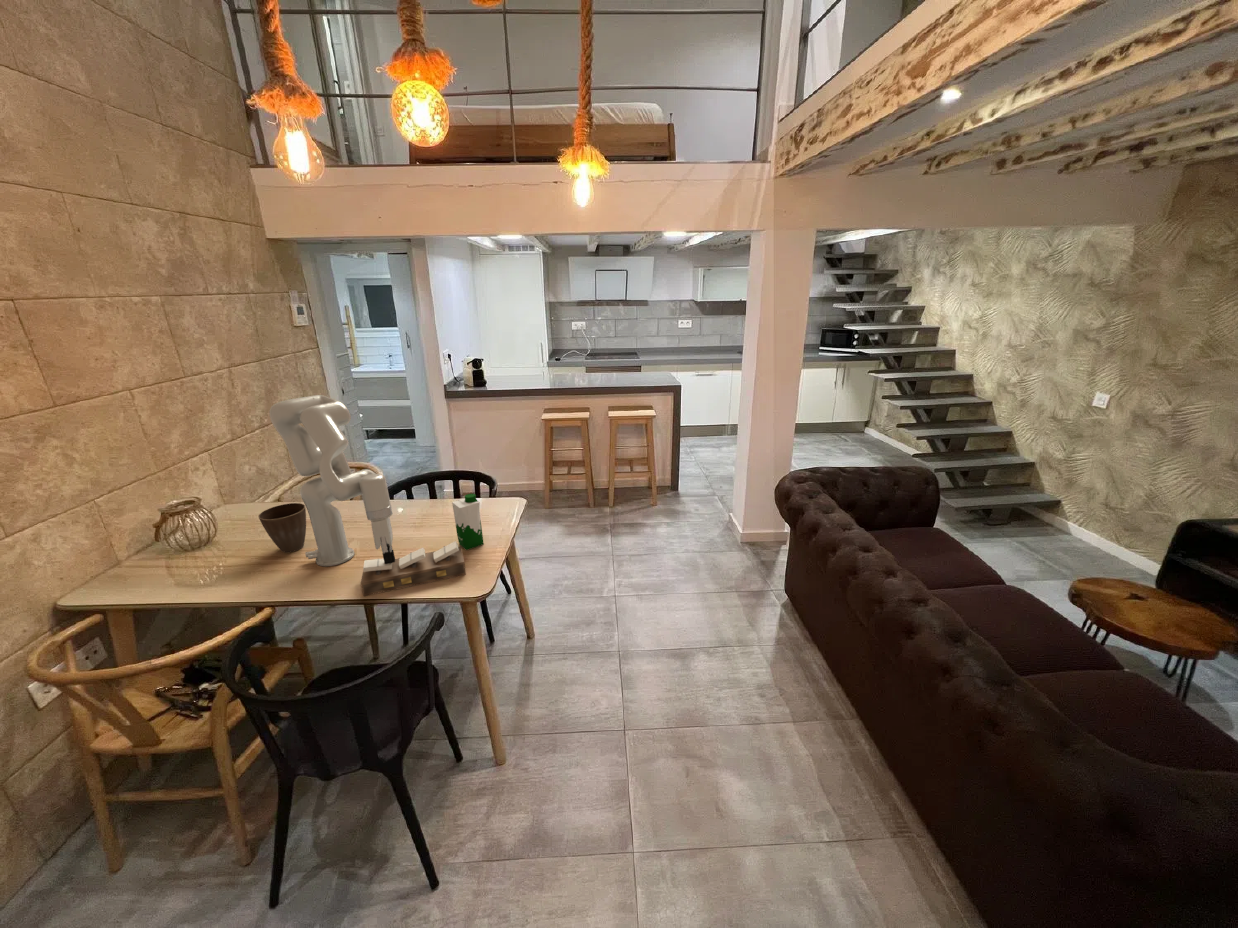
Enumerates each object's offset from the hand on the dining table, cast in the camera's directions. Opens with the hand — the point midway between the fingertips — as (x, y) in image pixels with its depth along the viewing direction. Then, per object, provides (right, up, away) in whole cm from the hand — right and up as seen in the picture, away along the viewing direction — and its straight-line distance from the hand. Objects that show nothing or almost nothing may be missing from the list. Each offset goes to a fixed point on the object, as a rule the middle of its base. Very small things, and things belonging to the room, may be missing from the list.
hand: (390, 561), depth 162 cm
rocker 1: (-4, -2, 0) cm, 4 cm away
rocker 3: (+17, +1, +7) cm, 18 cm away
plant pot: (-51, 0, +27) cm, 58 cm away
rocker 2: (+6, 0, +3) cm, 7 cm away
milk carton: (+19, +1, +27) cm, 33 cm away
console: (+7, -6, +5) cm, 10 cm away
